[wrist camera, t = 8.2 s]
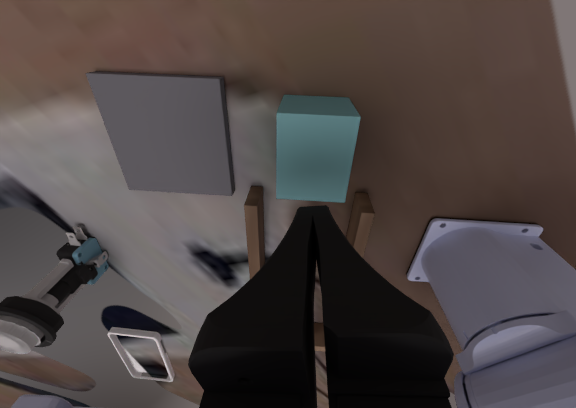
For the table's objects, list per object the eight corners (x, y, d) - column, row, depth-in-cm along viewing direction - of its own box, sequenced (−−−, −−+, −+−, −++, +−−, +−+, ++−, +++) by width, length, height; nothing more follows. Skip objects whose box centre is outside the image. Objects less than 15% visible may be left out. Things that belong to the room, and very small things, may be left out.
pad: (223, 76, 17) (219, 79, 16) (234, 189, 22) (231, 195, 21) (96, 71, 18) (85, 73, 17) (135, 183, 23) (129, 189, 22)
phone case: (111, 323, 37) (136, 369, 46) (105, 332, 36) (132, 377, 45) (160, 329, 37) (176, 374, 46) (156, 338, 36) (173, 382, 45)
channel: (367, 193, 22) (375, 213, 19) (334, 328, 33) (336, 352, 31) (251, 186, 22) (244, 205, 19) (259, 322, 34) (255, 345, 31)
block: (348, 97, 18) (360, 116, 13) (337, 168, 21) (344, 202, 17) (284, 94, 18) (276, 113, 14) (282, 165, 21) (276, 198, 17)
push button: (55, 220, 26) (-63, 308, 18) (107, 226, 26) (12, 317, 18) (80, 265, 30) (-9, 355, 21) (125, 270, 30) (54, 362, 21)
